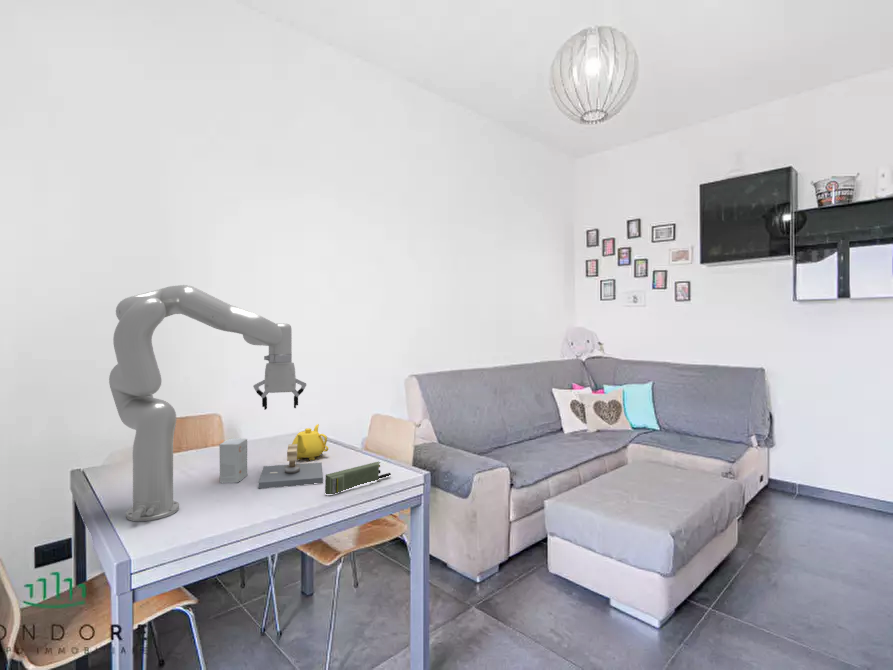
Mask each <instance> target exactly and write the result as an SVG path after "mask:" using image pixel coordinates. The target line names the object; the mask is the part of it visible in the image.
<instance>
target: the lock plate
mask: <svg viewBox="0 0 893 670" xmlns="http://www.w3.org/2000/svg"><path fill="white" fill-rule="evenodd" d="M295 464H296V465H300V471H299V472H296V473H285V466H287V465H288V464H279V465H277V464H276V465H264V466H263V467H262V470H261V474H260V477H259V480H258V482H257V483H258V487H257V489H258V488H263V489H270V488H269V487H275V488H284V486H288V487H297V486H296V485H300V486H305V485H304V484H313V485H315V484H314V483H323V484H324V474H323V465H322V464H323V463H322V462H309V463H306V462H305V463H295Z"/></svg>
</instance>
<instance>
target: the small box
mask: <svg viewBox="0 0 893 670" xmlns="http://www.w3.org/2000/svg"><path fill="white" fill-rule="evenodd" d="M245 476H246V477H247V476H248V438H228V439H227V440H224V441H223V442H222V443H220V444H219V484H232V483H231V482H239V481H240V482H241V481H243V479H245V478H246V477H245ZM244 477H245V478H244ZM222 482H223V483H222ZM228 482H229V483H228ZM240 482H239V483H240Z"/></svg>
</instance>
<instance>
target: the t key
mask: <svg viewBox="0 0 893 670" xmlns="http://www.w3.org/2000/svg"><path fill="white" fill-rule="evenodd" d="M286 452H287V453H286V461H287V462H288V461H289V462H288V463H289V464H286V465H287V466H285V473H296V472H299V471H300V465H296V464H297V463H296V461H298V460H297V444H288V445H287V450H286Z"/></svg>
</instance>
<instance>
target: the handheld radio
mask: <svg viewBox="0 0 893 670" xmlns="http://www.w3.org/2000/svg"><path fill="white" fill-rule="evenodd" d="M379 468H381V462H380V461H375V462H374V461H373V462H371V463H367V464H362V465H358V466H355V467H351V468H347V469H343V470H338V471H335V472H331V473H325V484H324V489H325V490H324V494H325V493H326V494H335V493H338V492H341V491H343V490H346V489H349V488H352V487H354V486H357V485H360V484H364V483H367V482H371V481H375V480H378V479H379V478H382V477H386V476H389V475H392V474H391V472H387V473H384V474H381V470H380V469H379ZM379 480H380V479H379ZM379 480H378V481H379ZM335 495H336V494H335Z"/></svg>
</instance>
